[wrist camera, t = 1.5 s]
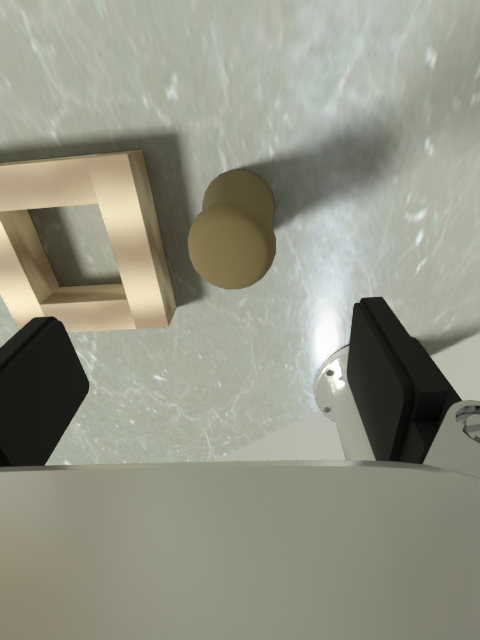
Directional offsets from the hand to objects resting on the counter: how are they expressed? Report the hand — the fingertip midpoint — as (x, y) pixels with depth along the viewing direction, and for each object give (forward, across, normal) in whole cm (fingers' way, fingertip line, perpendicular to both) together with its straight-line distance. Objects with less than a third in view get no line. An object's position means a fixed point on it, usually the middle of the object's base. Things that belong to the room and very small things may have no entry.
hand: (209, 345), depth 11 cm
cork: (+20, 0, 0) cm, 20 cm away
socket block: (+19, +14, +2) cm, 24 cm away
